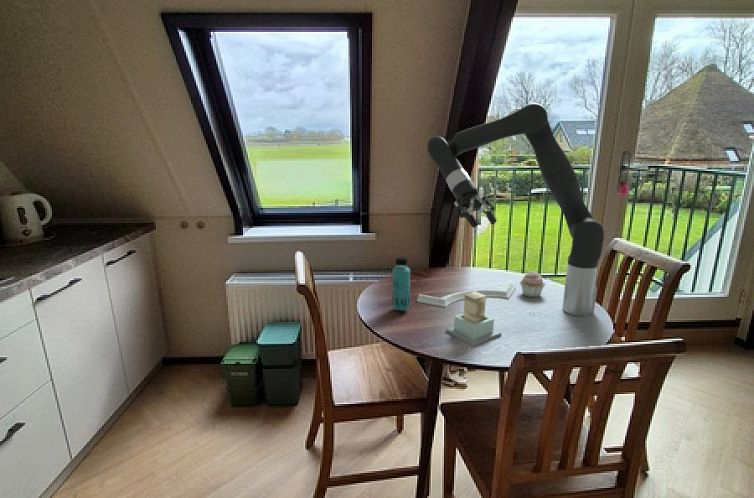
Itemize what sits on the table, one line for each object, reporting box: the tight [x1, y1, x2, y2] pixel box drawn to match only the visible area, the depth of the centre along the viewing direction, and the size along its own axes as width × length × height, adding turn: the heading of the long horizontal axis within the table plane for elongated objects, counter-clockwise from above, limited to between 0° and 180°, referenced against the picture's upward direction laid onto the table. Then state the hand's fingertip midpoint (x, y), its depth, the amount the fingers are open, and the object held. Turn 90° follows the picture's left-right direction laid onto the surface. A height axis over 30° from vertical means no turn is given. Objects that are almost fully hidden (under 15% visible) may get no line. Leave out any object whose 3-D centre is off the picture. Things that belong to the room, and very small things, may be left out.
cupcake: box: [519, 269, 546, 298], centre depth 159 cm, size 9×9×10 cm
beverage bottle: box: [391, 256, 411, 311], centre depth 145 cm, size 6×7×20 cm
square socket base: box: [445, 312, 502, 347], centre depth 130 cm, size 12×12×6 cm
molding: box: [416, 282, 516, 308], centre depth 159 cm, size 42×12×3 cm, turn 106°
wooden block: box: [463, 292, 487, 324], centre depth 128 cm, size 4×4×12 cm
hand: (485, 224), depth 133 cm, fingers open, 8 cm apart
